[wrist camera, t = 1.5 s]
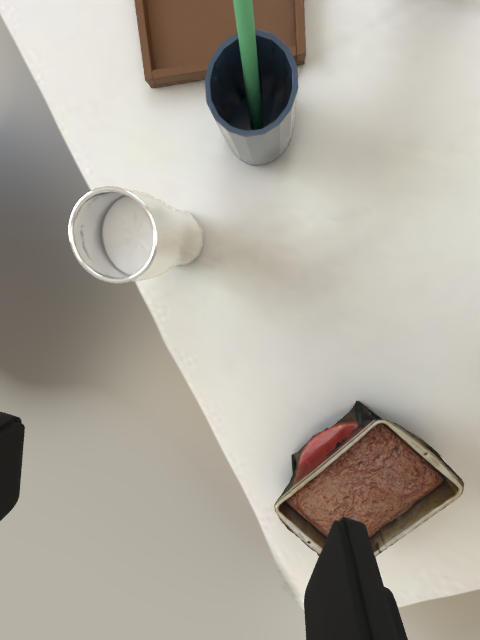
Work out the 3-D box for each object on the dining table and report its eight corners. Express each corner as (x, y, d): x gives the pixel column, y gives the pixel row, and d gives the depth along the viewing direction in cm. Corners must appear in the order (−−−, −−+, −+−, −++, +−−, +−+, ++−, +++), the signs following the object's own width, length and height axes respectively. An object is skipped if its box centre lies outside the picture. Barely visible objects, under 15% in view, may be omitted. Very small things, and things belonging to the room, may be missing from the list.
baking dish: (267, 445, 44) (258, 513, 35) (379, 372, 37) (404, 434, 28) (337, 507, 46) (346, 587, 37) (455, 450, 39) (501, 531, 30)
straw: (266, 157, 33) (251, 60, 16) (254, 158, 34) (227, 64, 16) (259, 49, 31) (234, -197, 14) (247, 51, 31) (207, -189, 14)
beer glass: (210, 209, 36) (163, 188, 21) (204, 272, 38) (157, 292, 23) (149, 202, 36) (64, 177, 22) (147, 265, 38) (65, 279, 24)
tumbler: (290, 87, 32) (295, 21, 23) (294, 161, 34) (299, 129, 24) (223, 97, 33) (200, 38, 23) (229, 169, 35) (210, 141, 25)
